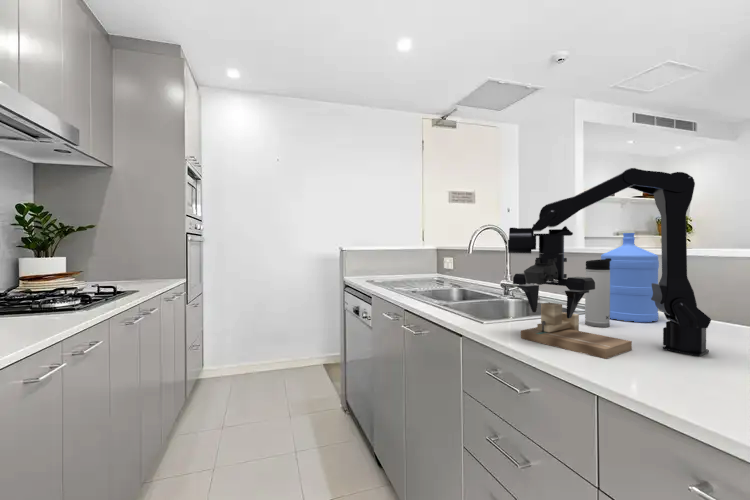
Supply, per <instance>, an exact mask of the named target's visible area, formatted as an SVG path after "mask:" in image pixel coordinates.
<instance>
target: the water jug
mask: <svg viewBox="0 0 750 500" xmlns="http://www.w3.org/2000/svg"><path fill="white" fill-rule="evenodd" d="M635 233H636V232H623V233H622V235H623V237H622V245H621V246H618V247H616V248H614V249H611V250H609V251H607V252H604V253H602V254H601V255H600V259H606V258H610V259H611V261H610V318H611V319H610V320H613V319H617V320H616V321H619V320H624V321H623V322H627V321H634V322H633V323H653V322H652V321H655V322H656V321H658V320H659V312H658V311H659V309H658V308H657V307H656V305H655V301H653V300H651V298H652V296H653V290H652V283H655V284H659V267H660V263H659V262H660V261H659V255H658V254H655V253H653V252H650V251H648V250H646V249H644V248H642V247H638V246H637V245H635V239H636V238H635Z"/></svg>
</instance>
